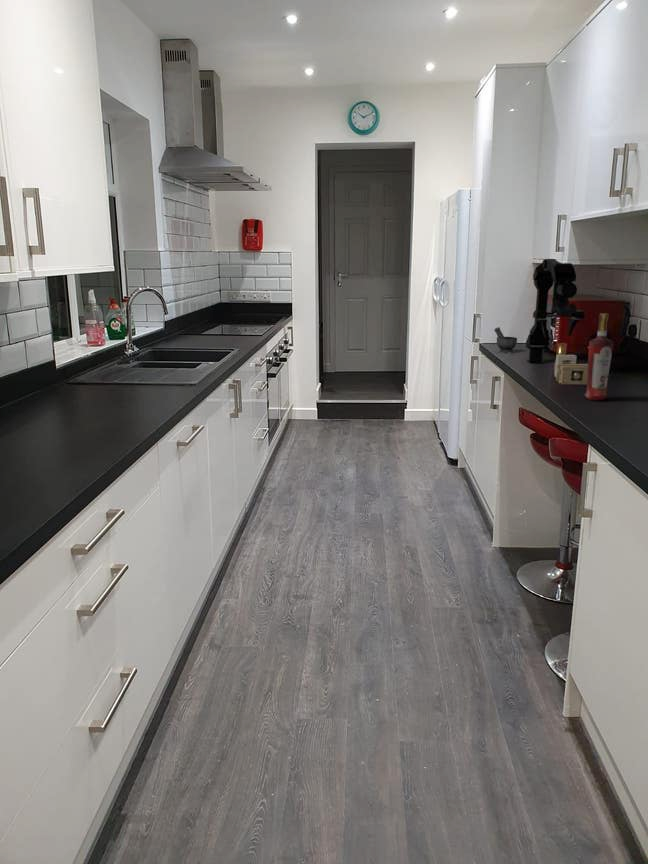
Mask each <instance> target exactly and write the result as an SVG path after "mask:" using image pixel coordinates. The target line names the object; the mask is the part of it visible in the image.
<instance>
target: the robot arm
mask: <svg viewBox="0 0 648 864" xmlns="http://www.w3.org/2000/svg"><path fill="white" fill-rule="evenodd" d="M532 275H533V276H532V279H533V285H534V288H535V289H536V301H535V310H534V311H533V313H532V318H533V319H534V324H533V325H532V327H531V328H530V330H529V333H528V336H527V338H526V341H525V348H526V349H529V355H528V359H526V361H527V362H528V363H529V364H544V363H546V361H544V360H543V358H544V349H546V350H548V349H549V345H550V340H551V338H550V335H549V334H550V332H549V329H548V327H547V325H548V319H547V318H569V320H568V329H567V330H568V331H567V336H568V338H570V337H571V335H572V333H573V331H574V329H575V327H576V325H577V323H578V322H582V319H583V320H584V319H586V312H585V311H584V310H578V304H575V303H571V304H570V300H569V299H571V298H574V297H575V296H576V295H577V292H578V287H577V285H576V284H575V283H573V282H576V281H577V274H576V270H575V267H574V265H573V264H572V262H560V261H558V260H557V259H555V258H545V259H542V262H541V263H540V264H539V265H537V266H536V267H535V269H534V271H533V274H532ZM551 288H553V291H552V298H551V303H552V304H551V308H550V312H549V311H548V310H547V309H548V299H549V292H550V290H551Z"/></svg>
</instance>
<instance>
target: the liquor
mask: <svg viewBox="0 0 648 864" xmlns="http://www.w3.org/2000/svg"><path fill="white" fill-rule="evenodd" d="M608 320H609V313H605V312H603V313H602V312H601V313H599V316H598V328H597V332H596V333H597V338H595V339H592V340H589V341H588V355H587V356H588V358H587V364H588V376H587V384H586V392H585V393H584V396H585V397H586V398H587V400H589V401H593V400H595V402H599V401H600V400H602V401H604V400H605V399H606V398H608V396H607V395H608V394H607V386H608V379H609V374H610V372H609V371H610V369H611V367H610V366H611V361H612V355H613V350H614V349H613V348H614V342H613V340H612V341H611V340H609V339H607V333H608V330H607V329H608V327H607V326H608Z"/></svg>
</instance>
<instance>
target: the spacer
mask: <svg viewBox="0 0 648 864" xmlns="http://www.w3.org/2000/svg"><path fill="white" fill-rule="evenodd" d="M555 357H556V358H555V362H556V365H555V374H554V377H555V378H556V375H557V364H562V360H565V361H568V362H569V364H577V357H578V356H577V355H575V354H566V355H557V354H556V356H555ZM571 378H573V377H571Z"/></svg>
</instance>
